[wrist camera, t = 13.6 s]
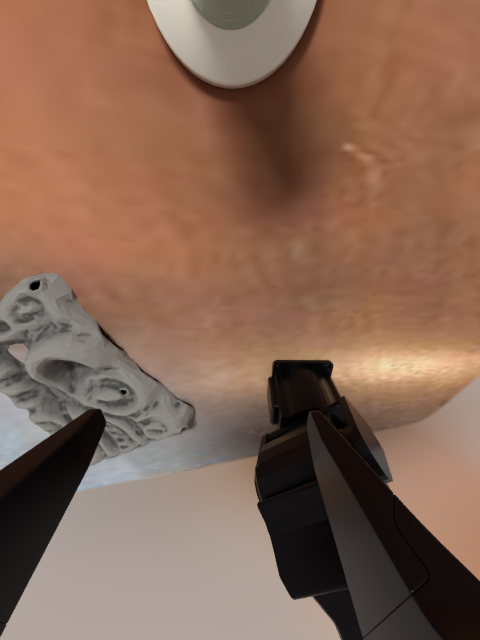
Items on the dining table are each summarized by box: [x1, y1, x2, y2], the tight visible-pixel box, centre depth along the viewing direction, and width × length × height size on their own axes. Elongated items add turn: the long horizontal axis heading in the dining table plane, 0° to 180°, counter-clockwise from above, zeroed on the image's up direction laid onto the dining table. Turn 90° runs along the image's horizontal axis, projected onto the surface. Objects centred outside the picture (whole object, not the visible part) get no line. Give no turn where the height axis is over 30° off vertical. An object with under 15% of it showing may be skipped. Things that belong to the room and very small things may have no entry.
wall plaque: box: [0, 273, 194, 466], centre depth 25 cm, size 24×19×4 cm
